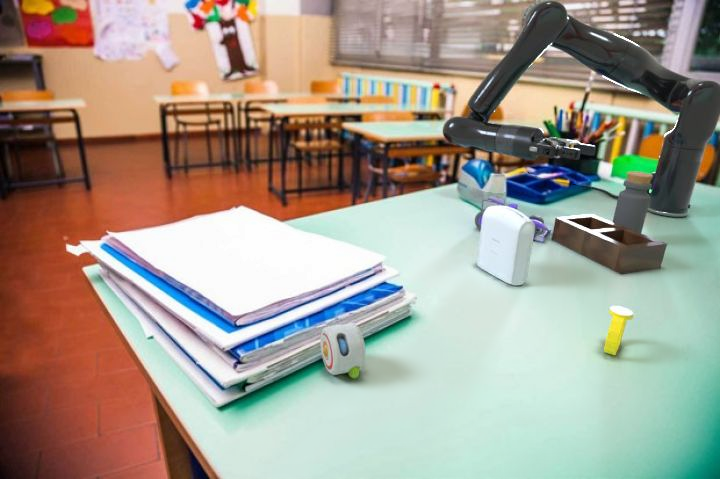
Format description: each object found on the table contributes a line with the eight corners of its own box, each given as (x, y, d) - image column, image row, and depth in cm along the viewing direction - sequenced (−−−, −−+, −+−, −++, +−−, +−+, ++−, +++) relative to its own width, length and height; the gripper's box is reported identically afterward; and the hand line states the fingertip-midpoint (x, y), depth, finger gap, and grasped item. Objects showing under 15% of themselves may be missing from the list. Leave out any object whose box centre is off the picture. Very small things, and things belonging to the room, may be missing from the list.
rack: (551, 239, 106) (555, 217, 104) (587, 235, 110) (591, 214, 108) (621, 274, 90) (627, 249, 88) (660, 268, 93) (667, 243, 92)
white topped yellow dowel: (618, 363, 63) (629, 323, 61) (595, 356, 65) (605, 316, 63) (626, 343, 68) (636, 305, 66) (604, 336, 69) (614, 299, 67)
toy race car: (541, 244, 103) (546, 215, 101) (473, 229, 110) (476, 201, 108) (552, 232, 110) (557, 204, 108) (487, 219, 118) (491, 192, 116)
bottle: (603, 236, 109) (618, 170, 104) (628, 236, 110) (644, 170, 104) (618, 246, 104) (635, 176, 98) (644, 246, 104) (662, 177, 99)
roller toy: (331, 388, 56) (332, 344, 54) (314, 357, 62) (315, 317, 60) (366, 380, 58) (369, 337, 56) (347, 351, 64) (348, 311, 61)
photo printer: (472, 265, 91) (480, 201, 87) (490, 261, 93) (499, 199, 89) (510, 288, 83) (522, 218, 78) (529, 284, 85) (542, 215, 80)
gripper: (506, 127, 112) (578, 138, 101) (535, 123, 122) (603, 133, 111) (502, 160, 115) (570, 174, 104) (530, 154, 124) (595, 165, 114)
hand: (587, 152), depth 108 cm, fingers open, 8 cm apart
